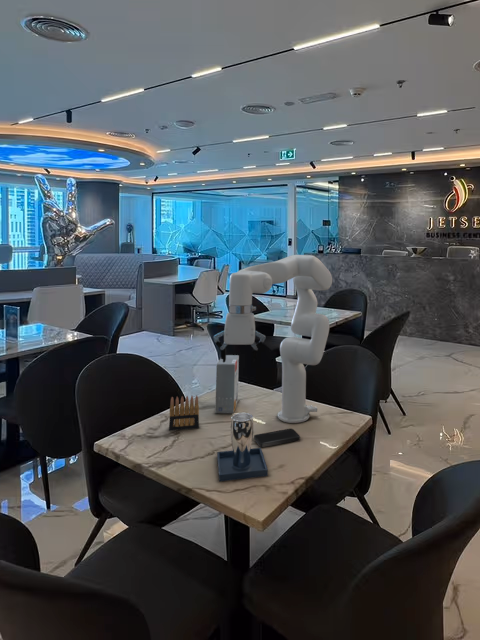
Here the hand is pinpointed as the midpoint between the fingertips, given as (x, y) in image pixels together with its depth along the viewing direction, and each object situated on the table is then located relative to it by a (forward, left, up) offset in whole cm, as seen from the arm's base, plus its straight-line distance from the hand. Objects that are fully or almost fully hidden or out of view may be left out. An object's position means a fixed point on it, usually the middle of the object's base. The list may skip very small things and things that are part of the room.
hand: (238, 361), depth 146 cm
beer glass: (0, +10, -30) cm, 31 cm away
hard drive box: (+1, -40, -30) cm, 50 cm away
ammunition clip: (+18, -22, -30) cm, 41 cm away
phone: (-14, -6, -30) cm, 34 cm away
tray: (0, +10, -30) cm, 32 cm away
